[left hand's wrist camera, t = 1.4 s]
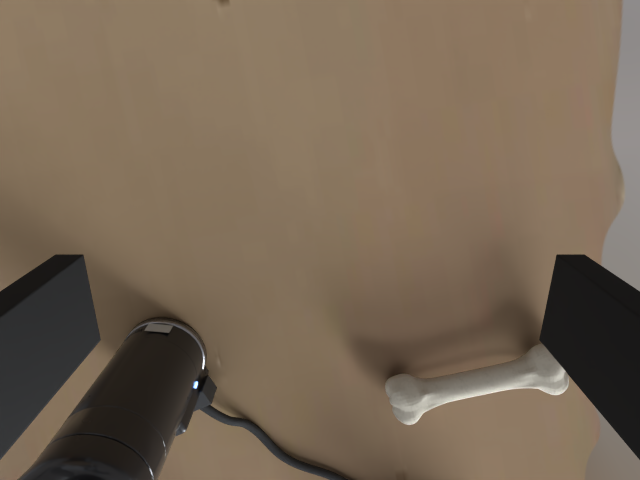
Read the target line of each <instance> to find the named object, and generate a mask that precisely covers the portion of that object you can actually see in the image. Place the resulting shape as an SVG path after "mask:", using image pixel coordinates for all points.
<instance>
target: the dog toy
mask: <svg viewBox="0 0 640 480" xmlns="http://www.w3.org/2000/svg"><path fill="white" fill-rule="evenodd" d="M568 384H569V377H568V374H567V373H566V372H565V370H564V369H563V368H562V366H561V365H560V364H559V363H558V362H557V360H556V359H555V358H554V357H553V356H552V354H551V353H550V352H549V351H548V350H547V348H546V347H545V346H544V345H543V344H538V345H535V346H533V347H532V348H531V349H530V350H529V351H528V352H527V353H526V354H524V355H522V356H521V357H519V358H518V359H516V360H513V361H510V362H506V363H502V364H498V365H493V366H488V367H484V368H479V369H474V370H470V371H465V372H460V373H456V374H451V375H446V376H441V377H436V378H427V379H423V378H417V377H413V376H412V375H410V374H405V373H403V374H398V375H395V376H392V377H390V378H389V379H387V381H386V384H385V390H386V393H387V395H388V397H389V398H390V399H389V401H390V404H391V405H393V407H392V410H393V413H394V415H395V416H396V418H397V419H398V420H399V421H401V422H402V423H404V424H408V425H411V424H414V423H416V422H417V421H418V420H419V418H420V417H421V415H422V414H423V413H424V412H426V411H428V410H430V409H432V408H434V407H437V406H439V405H442V404H444V403H447V402H451V401H455V400H460V399H465V398H469V397H474V396H479V395H484V394H489V393H494V392H498V391H504V390H509V389H519V388H534V389H535V388H538V389H540V390H542V391H544V392H546V393H549V394H552V395H559V394H561V393H563V392H564V391H565V390H566V389H567V388H568Z"/></svg>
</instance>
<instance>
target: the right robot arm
mask: <svg viewBox="0 0 640 480" xmlns="http://www.w3.org/2000/svg"><path fill="white" fill-rule="evenodd" d="M205 363H206V349H205V345H204V343H203V341H202V339H201V338H200V336H199V335H198V334H197V333H196V332H195V331H194V330H193V329H192V328H191V327H189V326H188V325H186V324H184V323H182V322H180V321H177V320H174V319H169V318H153V319H149V320H146V321H143V322H141V323H140V324H138V325H137V326H136V327H134V328H133V330H132V331H131V332H130V333H129V335H128V336H127V337H126V339H125V341H124V342H123V344H122V346H121V347H120V348H119V350H118V351H117V352H116V353H115V355H114V356H113V358H112V359H111V360H110V362H109V363H108V364H107V366H106V367H105V368H104V370H103V371H102V372H101V374H100V375H99V376H98V378H97V379H96V381H95V382H94V383H93V385H92V386H91V387H90V389H89V390H88V391H87V393H86V394H85V395H84V397H83V398H82V399H81V401H80V402H79V403H78V405H77V406H76V408H75V409H74V410H73V412H72V413H71V414H70V416H69V417H68V418H67V420H66V421H65V422H64V424H63V425H62V427H61V428H60V429H59V431H58V432H57V433H56V435H55V436H54V437H53V439H52V440H51V441H50V443H49V444H48V445H47V447H46V448H45V450H44V451H43V452H42V453H41V455H40V456H39V457H38V459H37V460H36V461H35V462H34V464H33V465H32V466H31V467H30V468H29V469H28V470H27V471H26V472H25V473H24V474H23V475H22V476H21V477H20V478H19V479H17V480H158V478H159V475H160V473H161V470H162V468H163V465H164V463H165V460H166V458H167V455H168V453H169V450H170V448H171V445H172V443H173V440H174V438H175V436H178V435H180V434H182V433H184V432H185V431H186V429H187V427H188V425H189V422H190V419H191V417H192V414H193V412H194V411H196V410H198V409H200V410H202V411H203V412H205V413H206V414H208V415H209V416H211V417H213V418H214V419H216V420H218V421H220V422H222V423H225V424H228V425H232V426H240V427H243V428H245V429H247V430H249V431H250V432H252V433H253V434H254V435H255V436H256V437H257V438H258V439H259V440H260V441H261V442H262V443H263V444H264V445H265V446H266V447H267V448H268V449H269V450H270V451H271V452H272V453H273V454H274V455H275V456H276V457H277V458H279V459H280V460H282V461H283V462H285V463H287V464H288V465H290V466H293V467H295V468H297V469H300V470H302V471H305V472H308V473H312V474H315V475H318V476H321V477H324V478H327V479H329V480H348V479H346V478H344V477H342V476H340V475H338V474H336V473H334V472H331V471H329V470H326V469H323V468H320V467H317V466H313V465H310V464H307V463H304V462H302V461H299V460H297V459H295V458H293V457H291V456H289V455H288V454H286V453H285V452H283V451H282V450H281V449H280V448H278V447H277V446H276V445H275V444H274V443H273V442H272V440H271V439H270V438H269V437H268V436H267V435H266V434H265V433H264V432H263V431H262V430H261V429H260V428H259V427H258V426H256V425H255V424H254V423H252V422H250V421H248V420H246V419H242V418H236V417H230V416H228V415H226V414H224V413H222V412H220V411H218V410H217V409H215V408H214V407H212V406H211V405H210V404H212V401H213V398H214V395H215V392H216V389H217V387H216V385H215V384H214V383H213V381H212V380H211V378H210V377H209V375H207V374H208V372H209V371H208V369H207V368H206V366H205Z"/></svg>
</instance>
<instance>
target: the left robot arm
mask: <svg viewBox="0 0 640 480" xmlns="http://www.w3.org/2000/svg"><path fill="white" fill-rule="evenodd" d="M100 340H101V339H100V334H99V329H98V325H97V320H96V315H95V310H94V305H93V300H92V295H91V290H90V285H89V280H88V275H87V271H86V266H85V261H84V256H83V255H54V256H53V257H51V258H50V259H48V260H47V261H45V262H44V263H42V264H41V265H39V266H38V267H36V268H35V269H33V270H32V271H30V272H29V273H27V274H26V275H24V276H23V277H21V278H20V279H18V280H17V281H15V282H14V283H12V284H11V285H9V286H8V287H6V288H5V289H3V290H2V291H0V459H1V458H2V457H3V456H4V455H5V453H6V452H7V451H8V450H9V449H10V448H11V446H12V445H13V444H14V443H15V442H16V440H17V439H18V438H19V437H20V436H21V434H22V433H23V432H24V431H25V430H26V428H27V427H28V426H29V425H30V424H31V422H32V421H33V420H34V419H35V418H36V417H37V415H38V414H39V413H40V412H41V411H42V409H43V408H44V407H45V406H46V405H47V403H48V402H49V401H50V400H51V399H52V397H53V396H54V395H55V394H56V393H57V391H58V390H59V389H60V388H61V387H62V385H63V384H64V383H65V382H66V381H67V380H68V378H69V377H70V376H71V375H72V374H73V372H74V371H75V370H76V369H77V368H78V366H79V365H80V364H81V363H82V362H83V360H84V359H85V358H86V357H87V356H88V354H89V353H90V352H91V351H92V350H93V348H94V347H95V346H96V345H97V344H98V343H99V341H100ZM539 340H540V341H541V343H542V344H543V345H544V346H545V347H546V348H547V350H548V351H549V352H550V353H551V354H552V356H553V357H554V358H555V359H556V360H557V362H558V363H559V364H560V365H561V366H562V368H563V369H564V370H565V371H566V372H567V374H568V375H569V376H570V377H571V378H572V380H573V381H574V382H575V383H576V384H577V385H578V387H579V388H580V389H581V390H582V391H583V393H584V394H585V395H586V396H587V397H588V399H589V400H590V401H591V402H592V403H593V405H594V406H595V407H596V408H597V409H598V411H599V412H600V413H601V414H602V415H603V417H604V418H605V419H606V420H607V421H608V422H609V424H610V425H611V426H612V427H613V428H614V430H615V431H616V432H617V433H618V434H619V436H620V437H621V438H622V439H623V440H624V442H625V443H626V444H627V445H628V446H629V448H630V449H631V450H632V451H633V452H634V453H635V455H636V456H637V457H638V458H639V459H640V291H638V290H636V289H635V288H634V287H632V286H631V285H629V284H628V283H626V282H625V281H623V280H622V279H620V278H619V277H617V276H616V275H614V274H613V273H611V272H610V271H608V270H607V269H605V268H604V267H602V266H601V265H599V264H598V263H596V262H595V261H593V260H592V259H590V258H589V257H587V256H586V255H557V256H556V261H555V266H554V271H553V275H552V280H551V285H550V290H549V295H548V300H547V305H546V310H545V315H544V320H543V325H542V329H541V334H540V339H539Z"/></svg>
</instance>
